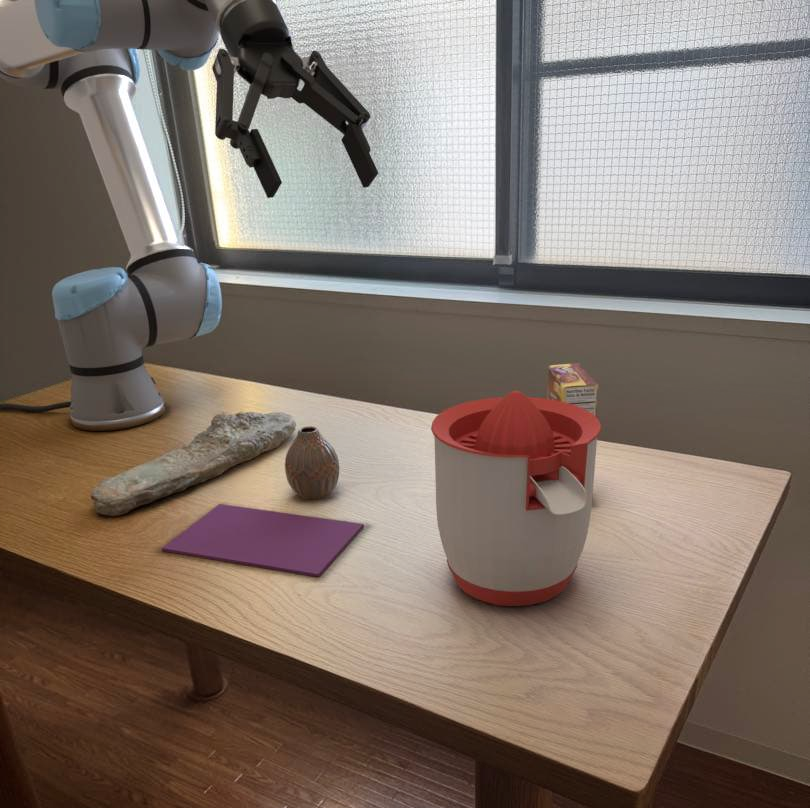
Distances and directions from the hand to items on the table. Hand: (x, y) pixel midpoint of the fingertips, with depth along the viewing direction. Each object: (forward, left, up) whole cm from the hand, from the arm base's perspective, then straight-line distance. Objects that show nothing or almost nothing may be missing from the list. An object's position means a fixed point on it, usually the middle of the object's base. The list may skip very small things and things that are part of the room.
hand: (325, 185), depth 88 cm
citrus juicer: (+29, -22, -36) cm, 51 cm away
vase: (-1, -8, -36) cm, 37 cm away
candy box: (+30, +1, -36) cm, 47 cm away
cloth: (-1, -21, -36) cm, 42 cm away
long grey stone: (-20, -5, -36) cm, 42 cm away
